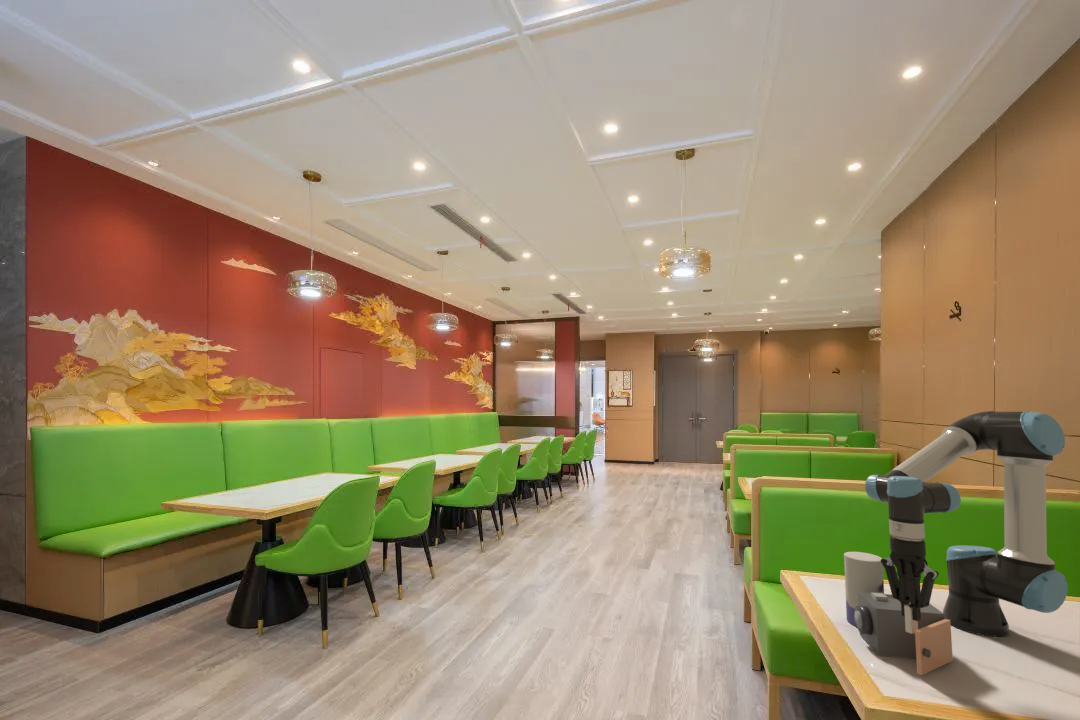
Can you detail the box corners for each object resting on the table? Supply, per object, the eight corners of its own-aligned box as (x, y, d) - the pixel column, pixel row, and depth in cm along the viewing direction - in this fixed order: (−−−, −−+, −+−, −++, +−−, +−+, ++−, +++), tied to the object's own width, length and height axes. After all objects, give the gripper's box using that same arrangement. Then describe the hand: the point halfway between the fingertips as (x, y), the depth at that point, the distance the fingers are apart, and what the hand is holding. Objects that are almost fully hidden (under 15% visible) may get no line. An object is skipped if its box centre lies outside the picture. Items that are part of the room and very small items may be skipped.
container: (892, 632, 148) (888, 562, 149) (854, 629, 150) (851, 559, 151) (876, 618, 157) (873, 552, 159) (841, 615, 159) (838, 550, 161)
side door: (948, 658, 130) (945, 618, 131) (957, 662, 129) (954, 621, 129) (917, 673, 123) (914, 630, 124) (926, 677, 122) (924, 633, 122)
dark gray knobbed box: (922, 640, 142) (920, 593, 143) (947, 662, 131) (944, 610, 132) (850, 634, 146) (848, 587, 147) (867, 654, 134) (865, 603, 136)
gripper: (872, 532, 136) (876, 623, 134) (925, 545, 124) (931, 645, 122) (890, 530, 139) (894, 619, 137) (943, 542, 127) (949, 639, 125)
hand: (911, 631), depth 129 cm, fingers closed
